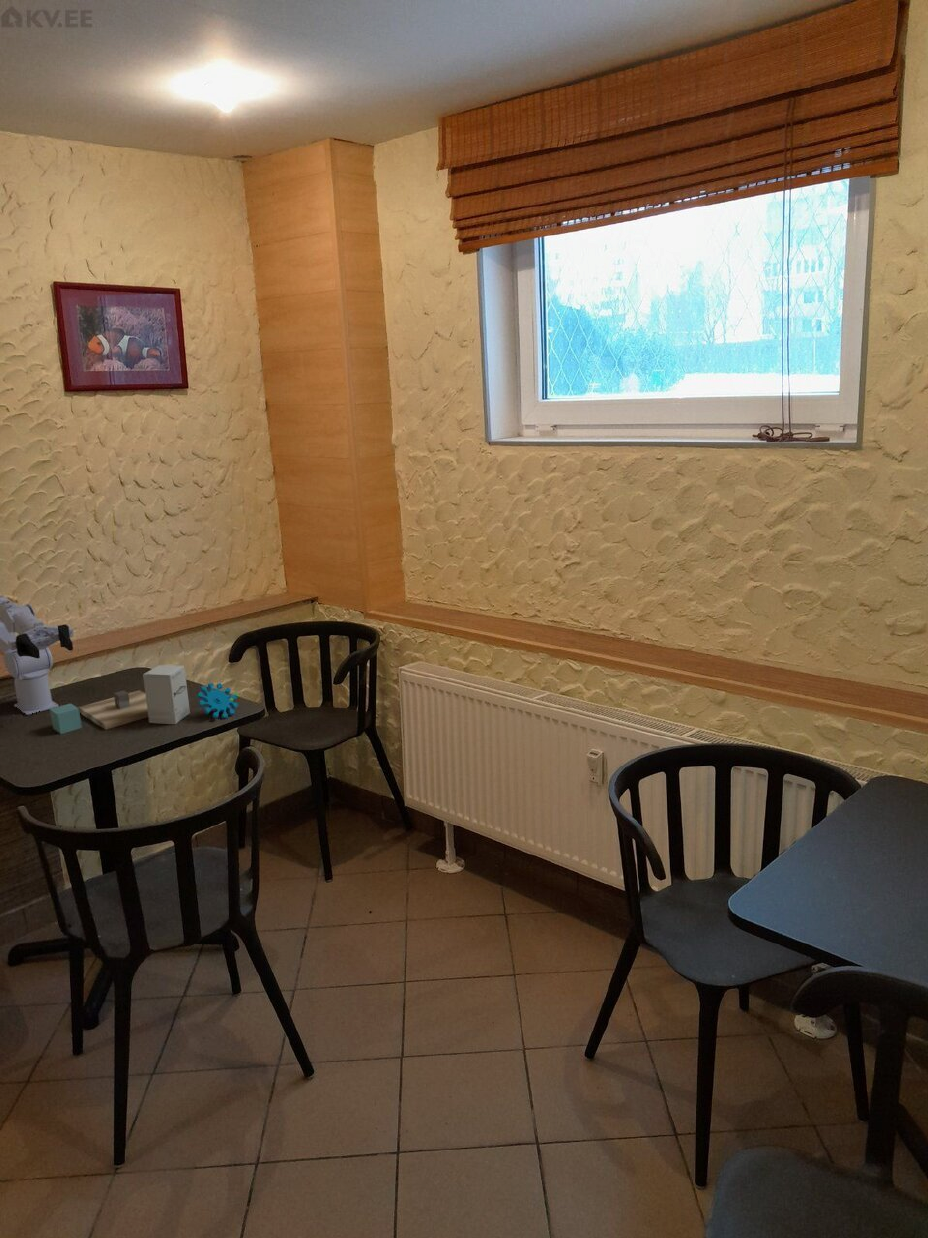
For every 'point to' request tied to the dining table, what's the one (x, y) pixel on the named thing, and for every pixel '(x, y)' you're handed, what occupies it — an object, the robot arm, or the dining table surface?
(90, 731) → the dining table surface
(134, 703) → the post board
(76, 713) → the mint green cube
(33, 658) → the robot arm
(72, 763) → the dining table surface
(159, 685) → the supplement box
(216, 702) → the gear
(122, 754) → the dining table surface
